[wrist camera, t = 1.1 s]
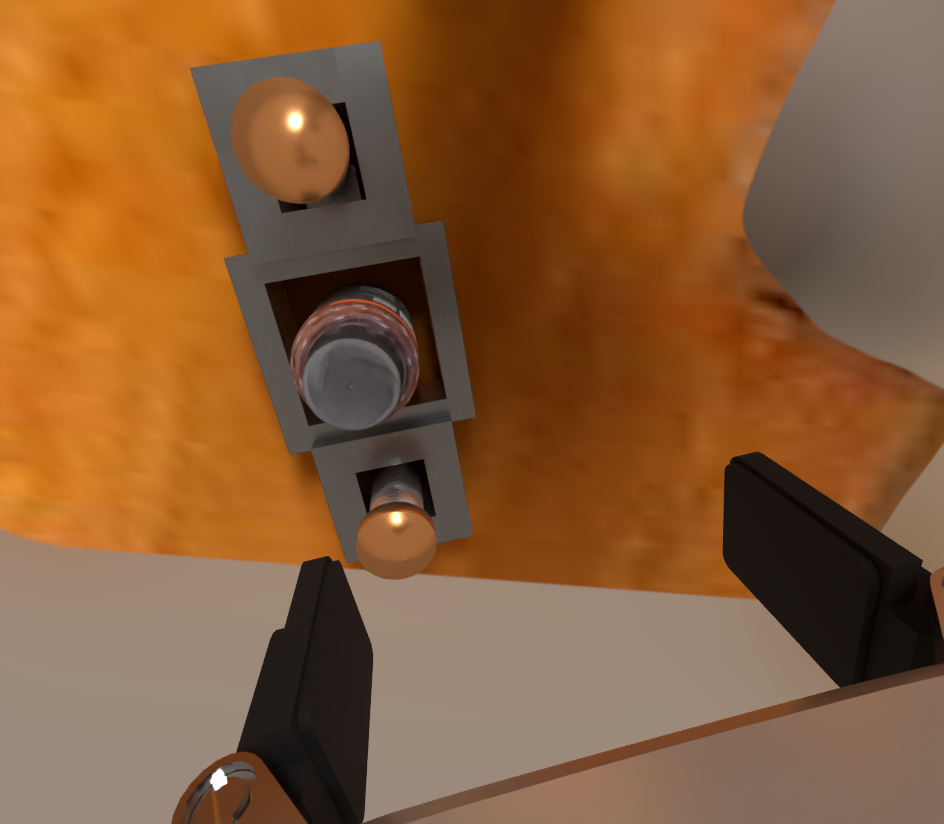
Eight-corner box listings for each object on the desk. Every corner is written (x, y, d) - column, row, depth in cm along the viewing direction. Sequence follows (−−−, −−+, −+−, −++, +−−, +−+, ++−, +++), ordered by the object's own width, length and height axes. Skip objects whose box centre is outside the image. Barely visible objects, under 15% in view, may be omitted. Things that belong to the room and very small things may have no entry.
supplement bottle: (322, 378, 31) (284, 458, 20) (309, 282, 29) (259, 316, 18) (417, 373, 32) (426, 447, 21) (411, 278, 29) (419, 309, 19)
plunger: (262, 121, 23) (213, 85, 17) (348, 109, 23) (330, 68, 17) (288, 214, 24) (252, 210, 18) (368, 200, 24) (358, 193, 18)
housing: (198, 100, 25) (152, 73, 20) (411, 69, 26) (414, 36, 21) (332, 522, 35) (322, 568, 30) (483, 490, 35) (496, 530, 31)
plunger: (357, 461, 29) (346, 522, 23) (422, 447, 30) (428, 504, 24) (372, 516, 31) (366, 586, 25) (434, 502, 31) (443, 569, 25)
